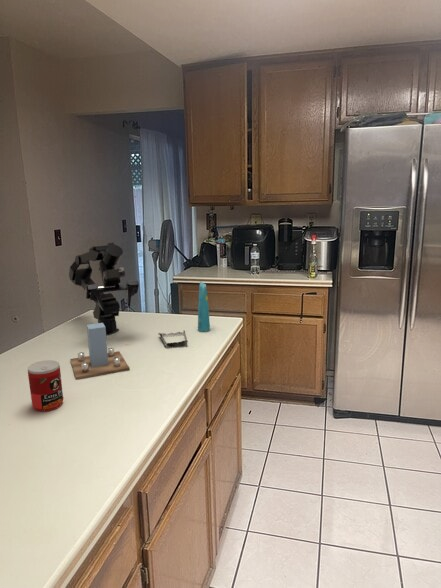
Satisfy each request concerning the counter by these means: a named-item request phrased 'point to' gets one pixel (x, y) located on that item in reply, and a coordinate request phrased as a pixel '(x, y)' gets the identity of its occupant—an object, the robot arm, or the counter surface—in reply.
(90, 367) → the peg stand
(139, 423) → the counter surface
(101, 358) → the slate blue block
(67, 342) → the counter surface
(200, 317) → the tube
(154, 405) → the counter surface
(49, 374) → the canned food
